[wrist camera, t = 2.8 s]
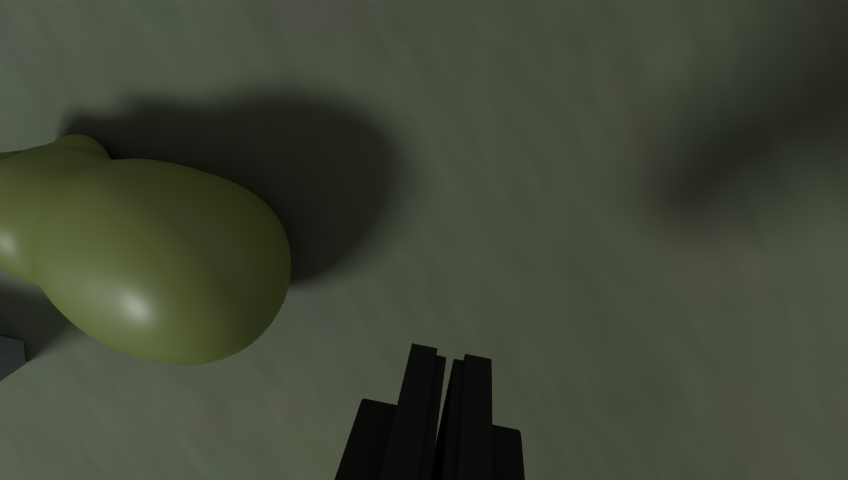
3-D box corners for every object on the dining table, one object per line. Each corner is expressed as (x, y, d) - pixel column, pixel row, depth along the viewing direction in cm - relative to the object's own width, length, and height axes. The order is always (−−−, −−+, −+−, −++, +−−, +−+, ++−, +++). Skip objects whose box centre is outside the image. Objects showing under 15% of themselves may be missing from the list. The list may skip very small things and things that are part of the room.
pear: (202, 435, 14) (-90, 298, 16) (305, 341, 19) (69, 244, 21) (227, 236, 12) (-110, 108, 14) (335, 186, 17) (71, 95, 19)
